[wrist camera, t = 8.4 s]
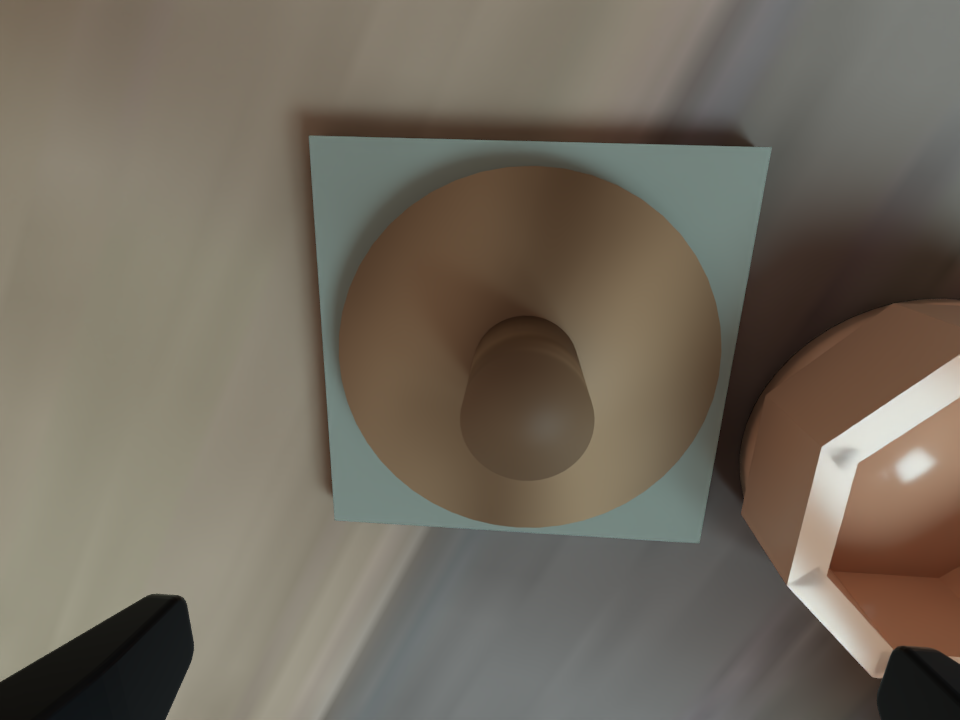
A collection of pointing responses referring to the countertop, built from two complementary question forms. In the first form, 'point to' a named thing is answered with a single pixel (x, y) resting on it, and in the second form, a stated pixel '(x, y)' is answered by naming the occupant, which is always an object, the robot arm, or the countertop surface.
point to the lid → (530, 346)
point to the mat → (437, 162)
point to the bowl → (866, 479)
